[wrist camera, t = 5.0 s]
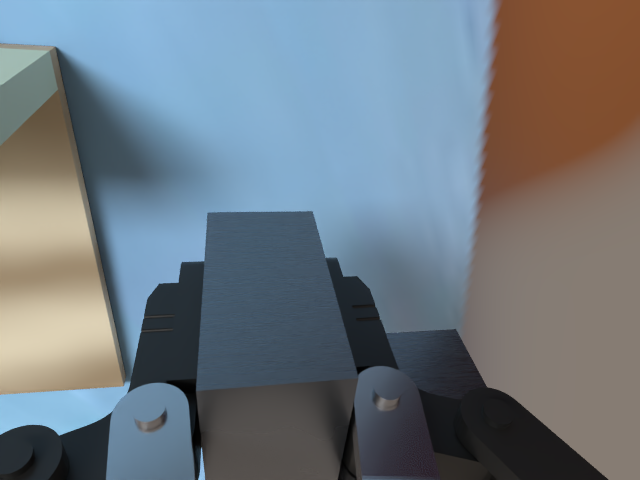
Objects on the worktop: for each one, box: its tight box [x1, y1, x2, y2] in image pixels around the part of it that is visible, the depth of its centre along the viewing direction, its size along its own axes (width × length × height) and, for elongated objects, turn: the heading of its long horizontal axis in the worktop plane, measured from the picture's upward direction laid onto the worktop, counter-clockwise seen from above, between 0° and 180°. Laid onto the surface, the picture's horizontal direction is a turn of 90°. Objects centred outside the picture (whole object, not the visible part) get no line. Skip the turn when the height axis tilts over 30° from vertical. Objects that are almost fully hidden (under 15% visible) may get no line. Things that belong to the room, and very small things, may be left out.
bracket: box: [196, 211, 487, 480], centre depth 12 cm, size 7×8×5 cm
